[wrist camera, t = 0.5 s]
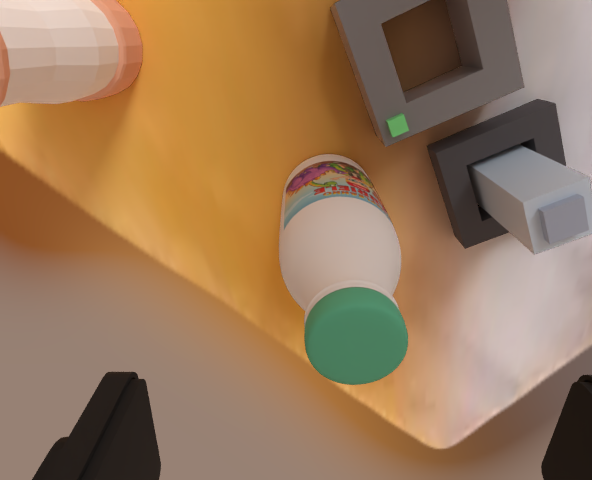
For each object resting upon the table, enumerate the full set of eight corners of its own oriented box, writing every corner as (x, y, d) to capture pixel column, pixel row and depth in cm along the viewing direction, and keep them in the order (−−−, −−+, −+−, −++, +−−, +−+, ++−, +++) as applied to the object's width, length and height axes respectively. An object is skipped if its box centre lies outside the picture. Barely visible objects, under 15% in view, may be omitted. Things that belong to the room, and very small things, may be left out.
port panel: (466, -62, 28) (495, -79, 24) (498, 82, 32) (528, 88, 28) (330, 7, 30) (335, 2, 26) (376, 135, 34) (387, 148, 30)
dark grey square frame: (537, 99, 33) (555, 103, 30) (556, 197, 36) (573, 208, 34) (426, 145, 34) (435, 153, 32) (455, 236, 38) (465, 248, 36)
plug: (511, 141, 34) (595, 179, 25) (521, 183, 36) (603, 235, 26) (463, 160, 35) (527, 205, 25) (475, 201, 36) (539, 258, 27)
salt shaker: (150, 9, 30) (-46, -32, 13) (134, 108, 33) (-43, 183, 16) (47, -29, 29) (-318, -130, 12) (40, 77, 32) (-260, 120, 15)
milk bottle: (361, 240, 38) (420, 420, 20) (278, 230, 38) (261, 405, 20) (380, 158, 35) (470, 284, 17) (288, 146, 34) (280, 262, 16)
